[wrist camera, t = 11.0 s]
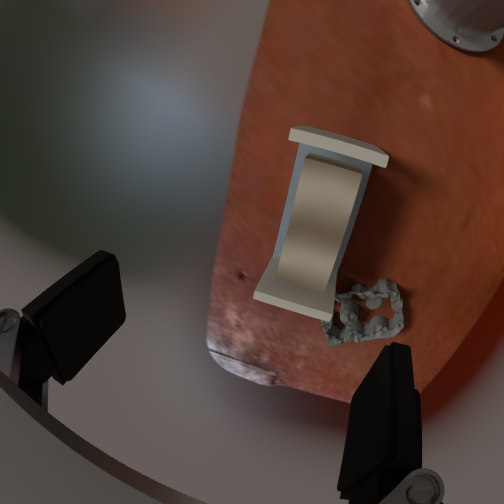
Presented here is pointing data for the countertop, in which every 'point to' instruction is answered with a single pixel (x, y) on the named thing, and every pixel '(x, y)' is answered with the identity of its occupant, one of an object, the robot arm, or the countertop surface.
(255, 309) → the countertop surface
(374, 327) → the egg carton
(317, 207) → the beige wavy block
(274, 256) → the peg stand
